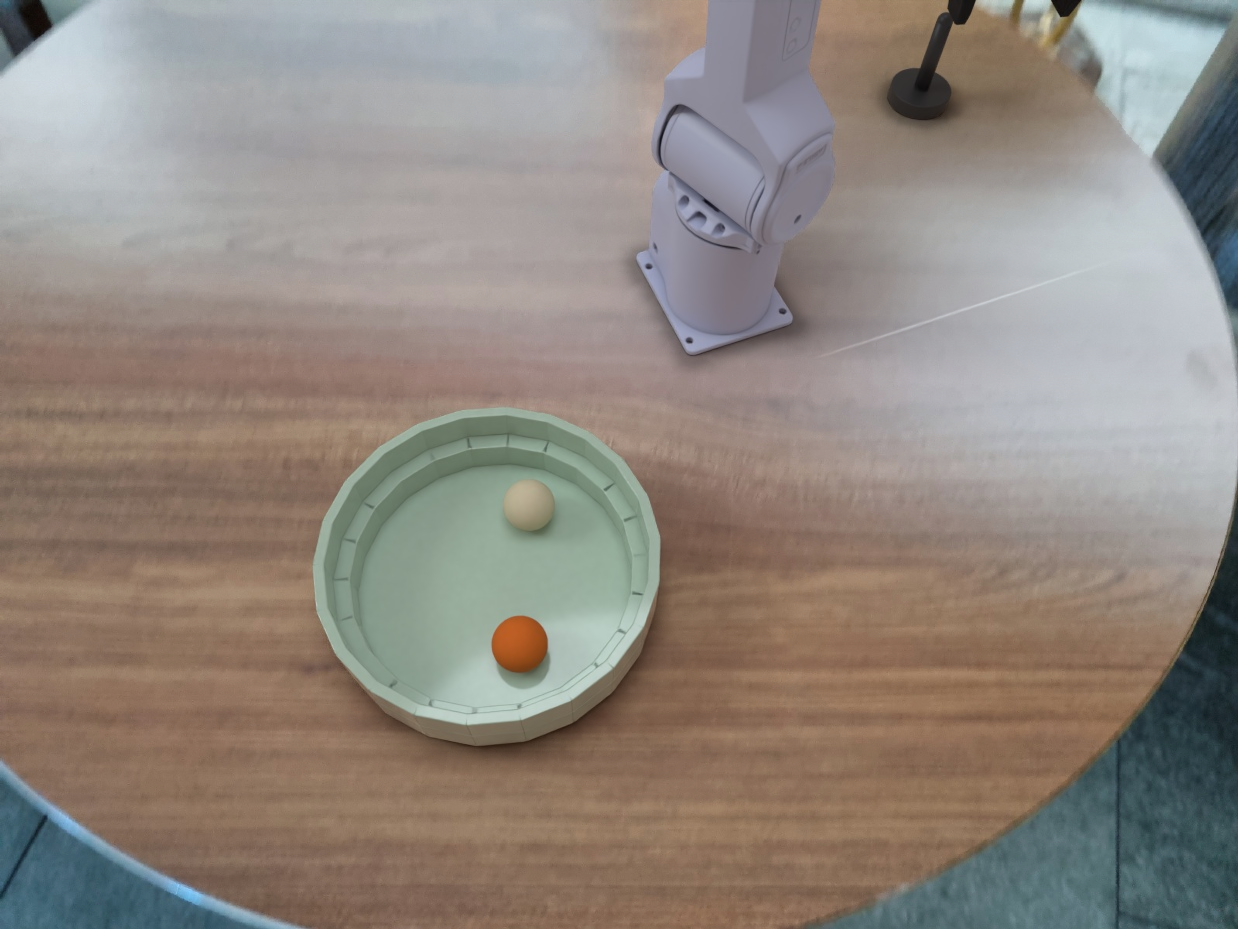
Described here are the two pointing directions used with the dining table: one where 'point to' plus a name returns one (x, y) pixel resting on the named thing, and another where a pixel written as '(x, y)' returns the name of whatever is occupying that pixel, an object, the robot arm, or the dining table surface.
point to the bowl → (487, 574)
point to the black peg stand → (924, 79)
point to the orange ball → (519, 644)
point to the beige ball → (528, 504)
